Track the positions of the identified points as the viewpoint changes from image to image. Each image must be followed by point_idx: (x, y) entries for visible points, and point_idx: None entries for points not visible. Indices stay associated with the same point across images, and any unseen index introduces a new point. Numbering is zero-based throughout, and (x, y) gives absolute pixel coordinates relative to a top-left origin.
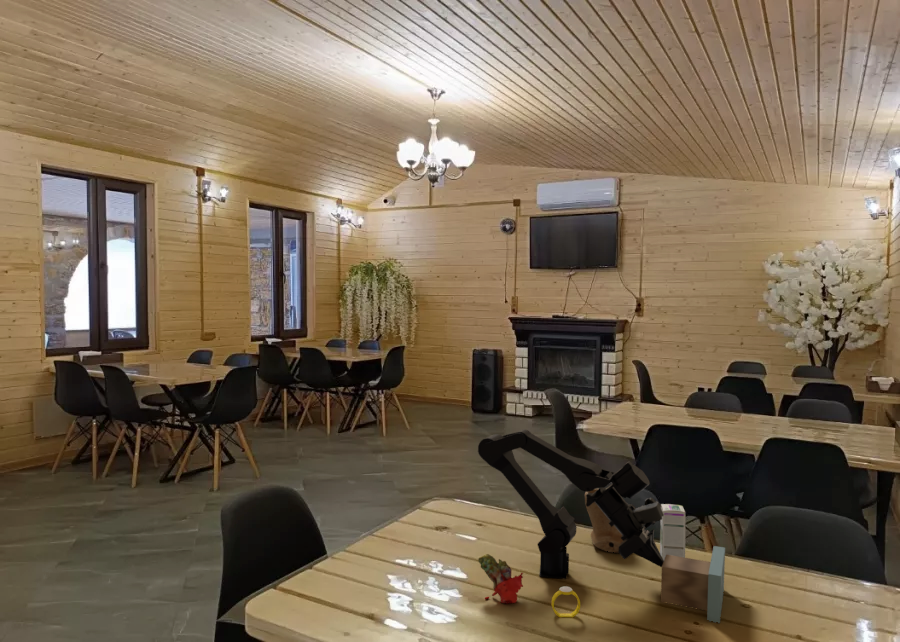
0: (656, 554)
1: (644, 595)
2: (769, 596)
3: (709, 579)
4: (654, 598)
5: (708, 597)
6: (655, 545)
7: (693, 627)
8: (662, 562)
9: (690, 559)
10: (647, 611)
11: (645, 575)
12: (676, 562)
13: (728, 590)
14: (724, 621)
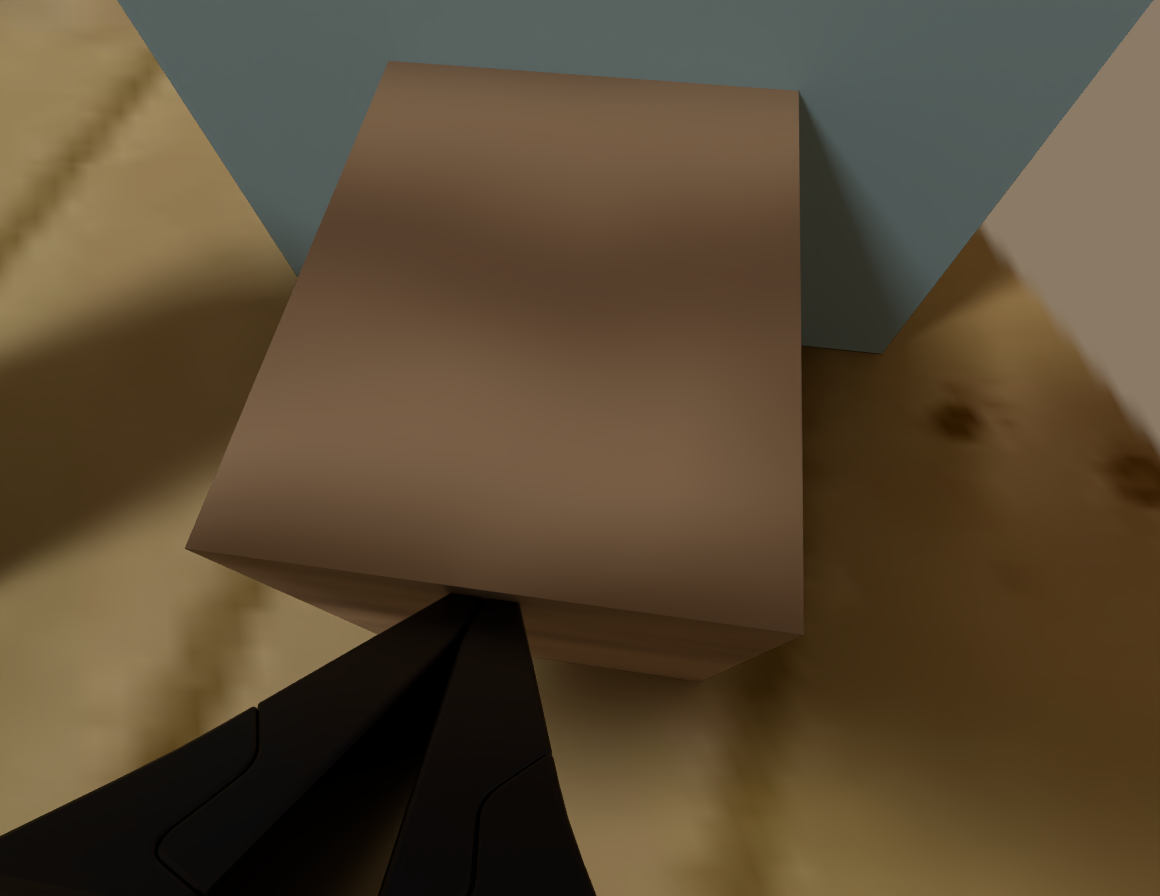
0: (543, 742)
1: (611, 856)
2: None
3: (1103, 53)
4: (646, 744)
5: (973, 226)
6: (209, 780)
7: (1045, 441)
8: (521, 622)
9: (347, 240)
10: (976, 820)
11: None
12: (521, 403)
13: None
14: None
